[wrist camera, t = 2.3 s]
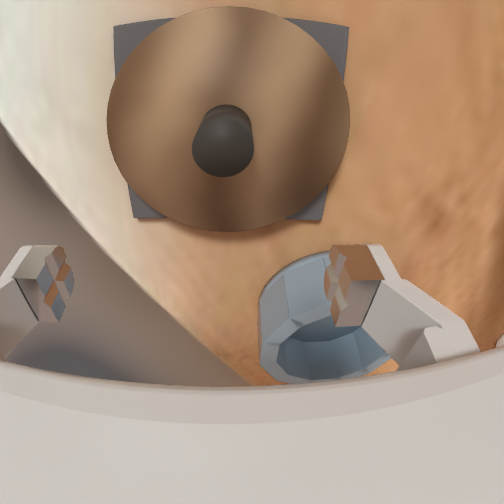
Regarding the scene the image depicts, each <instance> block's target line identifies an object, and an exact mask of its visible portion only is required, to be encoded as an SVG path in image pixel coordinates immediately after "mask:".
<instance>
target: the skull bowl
mask: <svg viewBox="0 0 504 504" xmlns="http://www.w3.org/2000/svg"><path fill="white" fill-rule="evenodd" d="M503 345H504V334H503V335H502V336H501V337H500V338H499V339H498V341H497V343H496V347H500V346H503Z"/></svg>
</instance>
